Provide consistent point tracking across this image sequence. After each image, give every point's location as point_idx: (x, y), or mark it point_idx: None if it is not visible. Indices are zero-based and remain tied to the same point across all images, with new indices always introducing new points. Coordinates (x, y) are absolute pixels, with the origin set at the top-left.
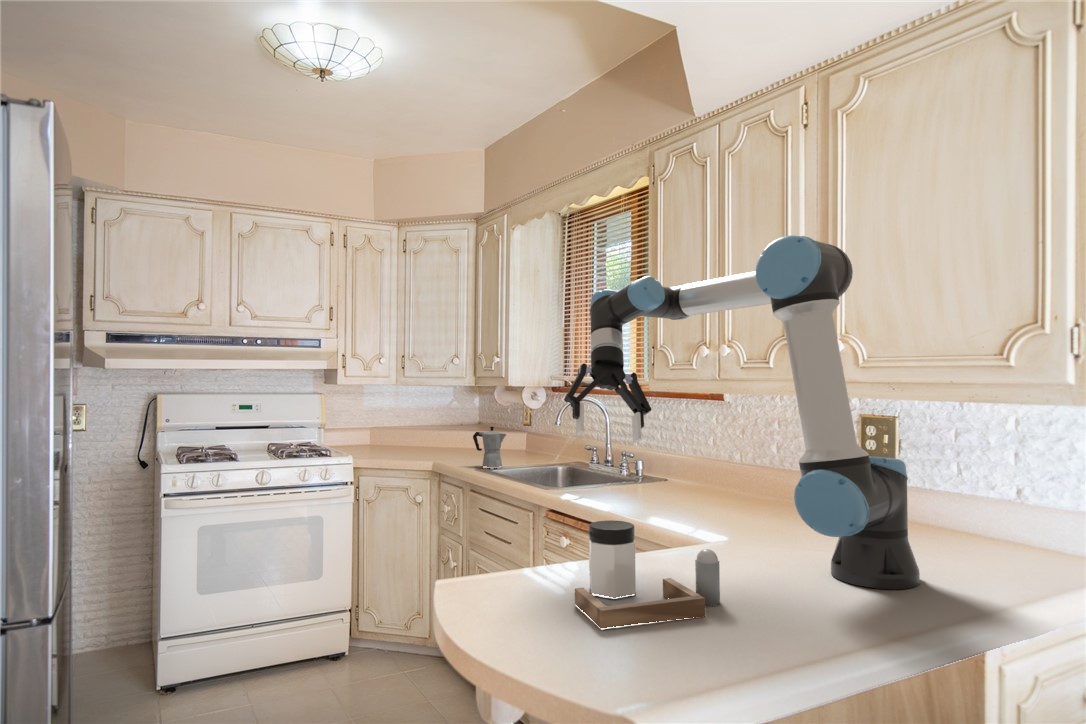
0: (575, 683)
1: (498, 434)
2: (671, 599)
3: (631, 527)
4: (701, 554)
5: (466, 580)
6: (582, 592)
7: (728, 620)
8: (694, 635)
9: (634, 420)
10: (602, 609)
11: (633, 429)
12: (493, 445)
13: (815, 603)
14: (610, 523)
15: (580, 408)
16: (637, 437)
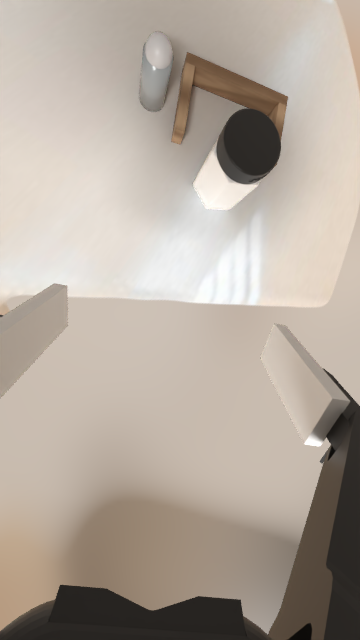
0: (334, 49)
1: None
2: (218, 74)
3: (239, 110)
4: (170, 45)
5: (311, 298)
6: None
7: None
8: (219, 47)
9: (17, 356)
10: (285, 98)
11: (41, 346)
12: None
13: (41, 9)
14: (250, 150)
15: (329, 381)
16: (63, 296)
